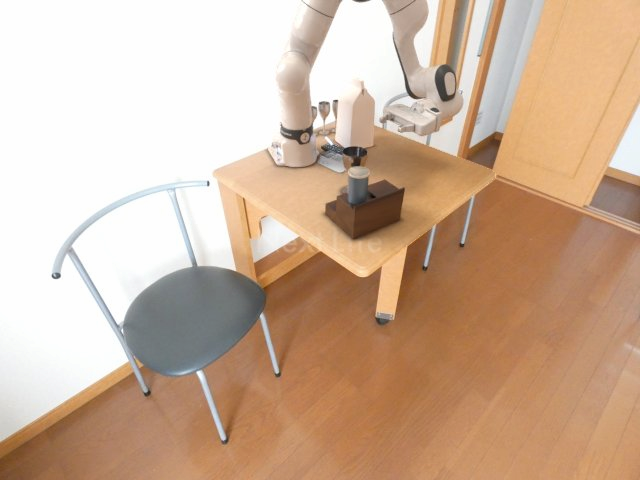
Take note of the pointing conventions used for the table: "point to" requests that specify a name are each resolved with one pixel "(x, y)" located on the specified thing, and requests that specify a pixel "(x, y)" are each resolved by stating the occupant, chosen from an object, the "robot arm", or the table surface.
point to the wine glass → (354, 159)
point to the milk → (355, 116)
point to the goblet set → (325, 113)
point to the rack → (367, 209)
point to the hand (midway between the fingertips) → (389, 125)
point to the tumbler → (357, 184)
